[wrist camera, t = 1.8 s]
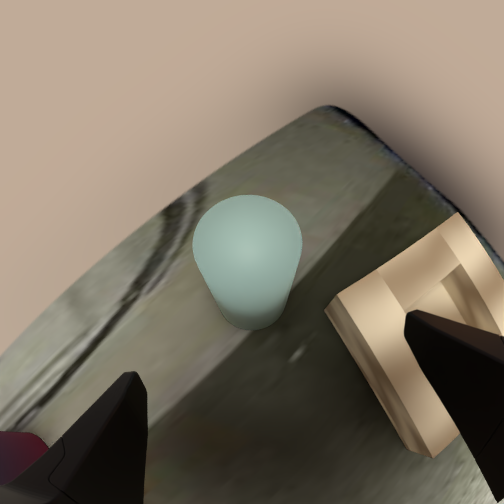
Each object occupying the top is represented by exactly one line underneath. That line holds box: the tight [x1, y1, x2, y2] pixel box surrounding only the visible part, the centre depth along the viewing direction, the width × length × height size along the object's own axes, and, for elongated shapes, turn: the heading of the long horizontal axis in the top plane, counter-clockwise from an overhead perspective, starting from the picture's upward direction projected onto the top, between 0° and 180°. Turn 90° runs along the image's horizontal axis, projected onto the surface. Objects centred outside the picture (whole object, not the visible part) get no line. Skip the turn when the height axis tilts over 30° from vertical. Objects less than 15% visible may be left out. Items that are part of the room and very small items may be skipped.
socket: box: [324, 212, 504, 458], centre depth 18 cm, size 13×13×4 cm
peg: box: [193, 195, 302, 330], centre depth 18 cm, size 5×5×9 cm
